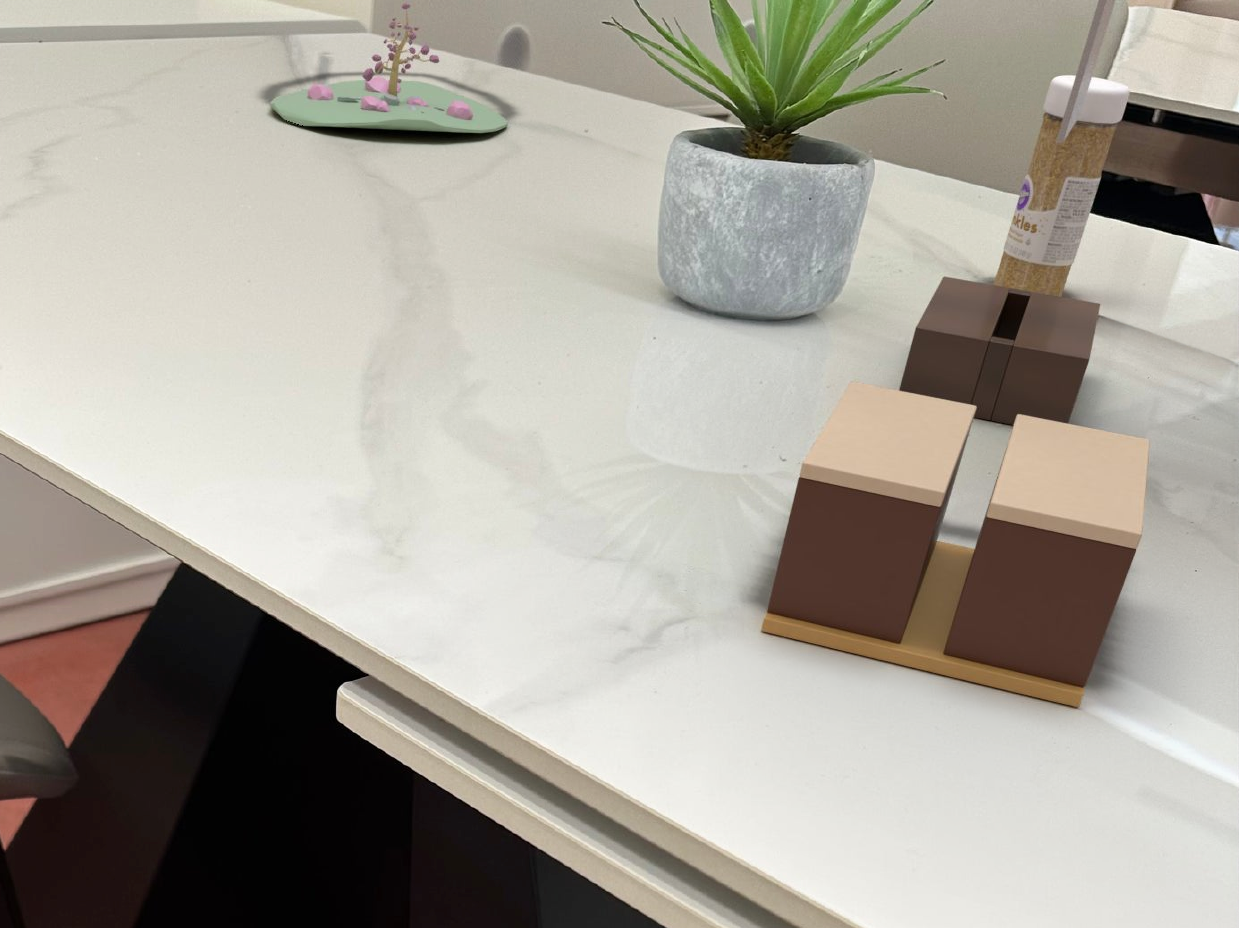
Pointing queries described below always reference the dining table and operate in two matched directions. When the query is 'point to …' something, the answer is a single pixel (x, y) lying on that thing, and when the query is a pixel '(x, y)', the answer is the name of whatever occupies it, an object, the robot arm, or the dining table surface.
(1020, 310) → the knife block
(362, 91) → the plant
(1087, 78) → the slim kitchen knife
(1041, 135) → the sprinkles bottle
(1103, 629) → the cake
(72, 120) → the dining table surface
